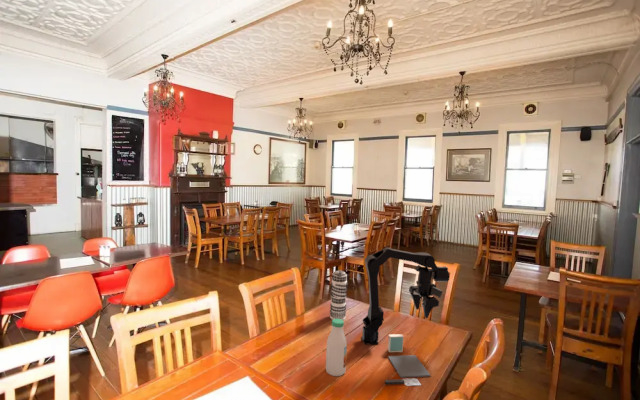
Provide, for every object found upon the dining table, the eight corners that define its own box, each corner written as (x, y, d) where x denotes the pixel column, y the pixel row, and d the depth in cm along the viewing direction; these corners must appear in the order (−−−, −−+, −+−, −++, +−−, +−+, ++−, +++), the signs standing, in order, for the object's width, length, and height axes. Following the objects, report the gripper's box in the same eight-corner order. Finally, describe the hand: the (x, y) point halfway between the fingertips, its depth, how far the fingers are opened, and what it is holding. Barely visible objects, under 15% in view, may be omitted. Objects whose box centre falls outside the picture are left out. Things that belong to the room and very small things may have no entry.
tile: (389, 352, 142) (390, 336, 141) (387, 349, 144) (388, 334, 143) (402, 351, 142) (403, 336, 142) (400, 349, 144) (401, 334, 144)
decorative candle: (349, 317, 176) (352, 271, 174) (339, 322, 169) (341, 275, 167) (336, 312, 182) (338, 268, 180) (325, 317, 174) (327, 271, 173)
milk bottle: (339, 379, 121) (342, 327, 120) (321, 372, 125) (324, 321, 124) (348, 369, 127) (351, 319, 126) (331, 362, 132) (334, 314, 130)
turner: (387, 387, 118) (387, 384, 118) (383, 380, 122) (383, 377, 122) (421, 385, 119) (421, 383, 119) (416, 378, 123) (416, 376, 123)
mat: (400, 377, 124) (400, 376, 123) (388, 357, 137) (388, 356, 137) (430, 376, 125) (430, 374, 125) (415, 356, 139) (415, 355, 139)
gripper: (451, 287, 142) (448, 322, 143) (431, 274, 160) (428, 305, 161) (427, 287, 140) (424, 322, 141) (409, 274, 159) (407, 305, 160)
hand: (421, 313), depth 151 cm, fingers open, 9 cm apart
